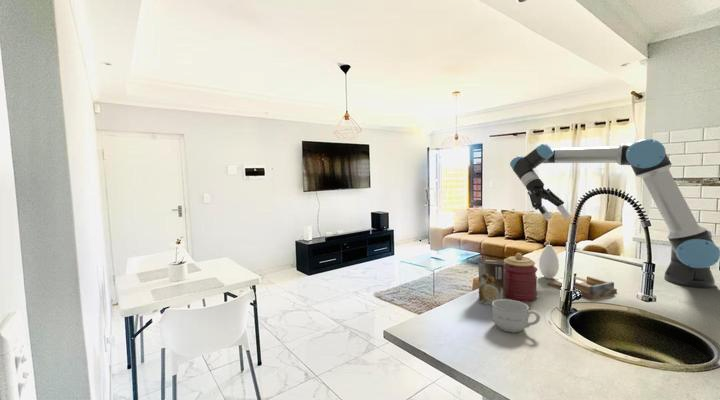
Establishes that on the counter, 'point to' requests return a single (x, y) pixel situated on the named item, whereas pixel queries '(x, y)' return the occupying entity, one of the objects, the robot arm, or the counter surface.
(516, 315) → the teacup
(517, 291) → the canister
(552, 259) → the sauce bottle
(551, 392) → the counter surface
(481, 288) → the coffee box
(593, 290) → the guide board
